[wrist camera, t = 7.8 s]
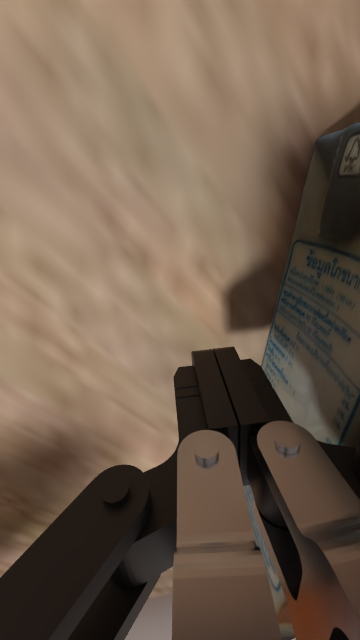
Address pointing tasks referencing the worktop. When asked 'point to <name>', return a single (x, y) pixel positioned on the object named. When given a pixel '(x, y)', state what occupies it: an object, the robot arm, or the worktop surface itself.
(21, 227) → the worktop surface
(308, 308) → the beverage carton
